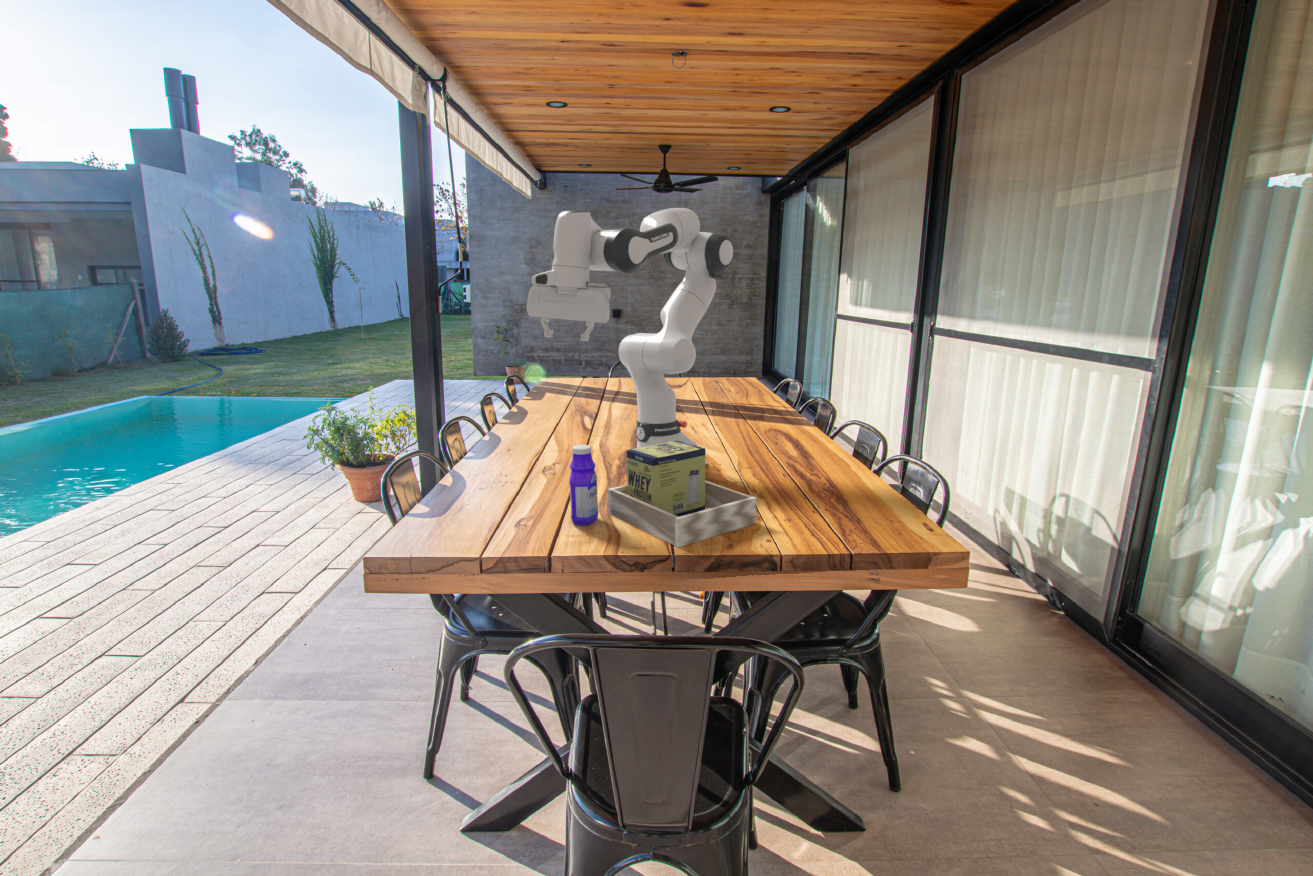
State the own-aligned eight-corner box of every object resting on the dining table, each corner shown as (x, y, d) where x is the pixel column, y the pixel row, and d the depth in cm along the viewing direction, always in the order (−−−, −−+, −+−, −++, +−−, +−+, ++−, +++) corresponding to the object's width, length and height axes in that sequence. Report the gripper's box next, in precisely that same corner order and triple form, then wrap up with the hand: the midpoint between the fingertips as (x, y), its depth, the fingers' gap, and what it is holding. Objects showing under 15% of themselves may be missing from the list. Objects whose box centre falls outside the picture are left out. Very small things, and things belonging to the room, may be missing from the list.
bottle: (592, 527, 140) (589, 450, 136) (567, 526, 141) (564, 449, 138) (601, 516, 147) (599, 443, 143) (578, 515, 148) (575, 442, 145)
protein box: (626, 514, 149) (625, 449, 145) (678, 500, 158) (678, 439, 155) (653, 526, 141) (652, 458, 137) (706, 511, 150) (707, 447, 146)
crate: (681, 495, 162) (681, 472, 161) (755, 523, 142) (756, 497, 140) (608, 513, 149) (607, 489, 148) (678, 547, 129) (678, 519, 128)
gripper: (615, 284, 152) (611, 343, 155) (536, 278, 157) (533, 335, 160) (607, 282, 146) (602, 343, 149) (525, 276, 151) (522, 335, 154)
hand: (566, 339), depth 154 cm, fingers open, 8 cm apart
